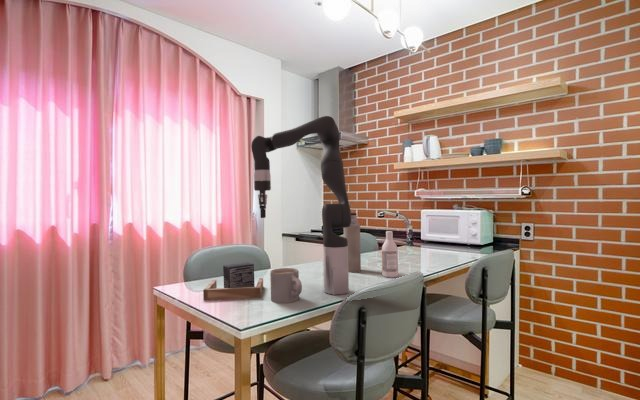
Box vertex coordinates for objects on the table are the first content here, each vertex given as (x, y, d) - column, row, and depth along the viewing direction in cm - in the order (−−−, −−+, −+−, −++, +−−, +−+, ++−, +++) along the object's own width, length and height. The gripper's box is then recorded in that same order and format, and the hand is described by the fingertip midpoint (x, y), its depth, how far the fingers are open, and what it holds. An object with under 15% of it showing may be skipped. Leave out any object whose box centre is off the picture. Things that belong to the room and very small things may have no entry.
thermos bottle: (344, 268, 175) (343, 212, 175) (360, 268, 174) (359, 212, 174) (344, 272, 167) (342, 213, 167) (360, 272, 166) (359, 213, 166)
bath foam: (384, 273, 162) (383, 230, 162) (399, 275, 159) (398, 230, 159) (380, 277, 155) (379, 231, 155) (396, 278, 152) (395, 232, 152)
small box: (248, 287, 142) (248, 261, 142) (255, 290, 137) (254, 263, 137) (223, 291, 136) (222, 264, 136) (229, 295, 131) (228, 267, 131)
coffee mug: (266, 298, 126) (265, 270, 126) (290, 293, 131) (290, 266, 131) (283, 307, 115) (282, 276, 115) (309, 301, 120) (308, 272, 120)
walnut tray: (212, 288, 141) (212, 280, 141) (263, 286, 142) (262, 278, 142) (203, 299, 125) (203, 290, 125) (260, 297, 127) (259, 287, 127)
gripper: (255, 181, 168) (256, 217, 168) (252, 179, 154) (253, 218, 155) (271, 180, 168) (272, 216, 168) (269, 179, 155) (270, 218, 155)
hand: (263, 217), depth 161 cm, fingers closed
